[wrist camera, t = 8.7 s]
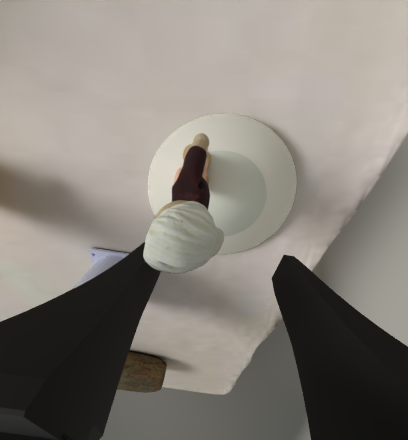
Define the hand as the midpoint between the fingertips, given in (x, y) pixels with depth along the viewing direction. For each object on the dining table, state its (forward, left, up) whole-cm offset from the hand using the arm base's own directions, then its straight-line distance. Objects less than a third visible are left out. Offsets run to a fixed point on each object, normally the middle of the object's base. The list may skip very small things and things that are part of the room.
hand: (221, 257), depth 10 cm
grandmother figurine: (+2, +3, -9) cm, 10 cm away
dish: (0, 0, -10) cm, 10 cm away
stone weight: (-45, +12, -11) cm, 48 cm away
